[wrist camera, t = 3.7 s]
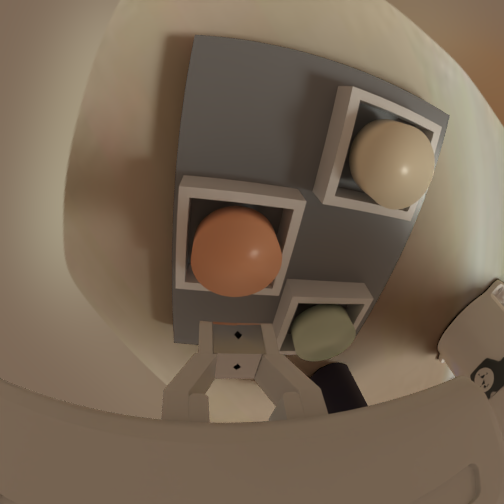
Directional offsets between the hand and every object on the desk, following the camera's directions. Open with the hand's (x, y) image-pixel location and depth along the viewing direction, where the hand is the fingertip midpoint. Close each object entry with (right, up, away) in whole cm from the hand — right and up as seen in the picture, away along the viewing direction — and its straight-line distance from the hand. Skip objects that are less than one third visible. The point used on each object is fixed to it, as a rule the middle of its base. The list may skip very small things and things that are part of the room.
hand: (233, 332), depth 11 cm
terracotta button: (0, +4, +6) cm, 7 cm away
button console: (+4, +5, +9) cm, 12 cm away
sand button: (+9, +9, +3) cm, 13 cm away
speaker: (+11, -13, +22) cm, 28 cm away
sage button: (+6, -3, +11) cm, 13 cm away
